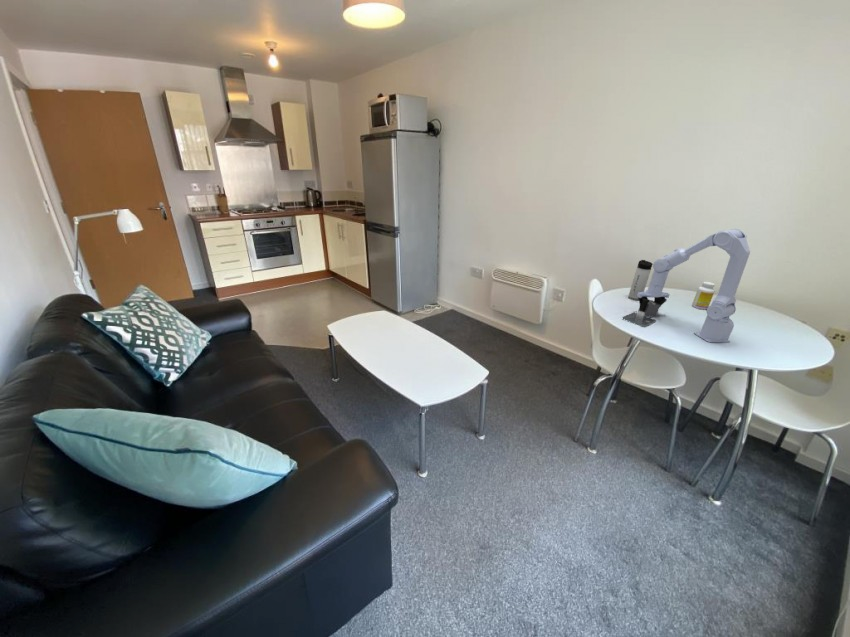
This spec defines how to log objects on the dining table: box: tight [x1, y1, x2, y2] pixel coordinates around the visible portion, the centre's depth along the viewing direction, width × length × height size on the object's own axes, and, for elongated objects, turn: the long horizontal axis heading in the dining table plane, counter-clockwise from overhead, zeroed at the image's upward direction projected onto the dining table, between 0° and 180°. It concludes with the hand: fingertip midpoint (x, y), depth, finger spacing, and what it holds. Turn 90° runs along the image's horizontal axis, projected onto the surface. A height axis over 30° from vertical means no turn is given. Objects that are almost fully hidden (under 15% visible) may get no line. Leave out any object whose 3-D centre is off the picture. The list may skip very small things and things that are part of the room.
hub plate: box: [622, 309, 657, 328], centre depth 159 cm, size 10×10×4 cm
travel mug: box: [627, 259, 654, 302], centre depth 182 cm, size 6×7×20 cm
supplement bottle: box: [691, 281, 716, 310], centre depth 175 cm, size 7×7×13 cm
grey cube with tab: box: [638, 299, 661, 318], centre depth 166 cm, size 5×5×6 cm
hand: (647, 311), depth 167 cm, fingers open, 6 cm apart
